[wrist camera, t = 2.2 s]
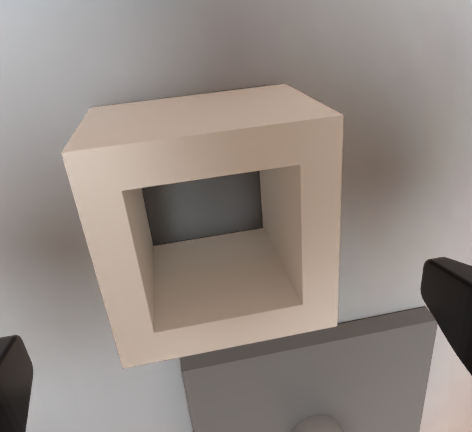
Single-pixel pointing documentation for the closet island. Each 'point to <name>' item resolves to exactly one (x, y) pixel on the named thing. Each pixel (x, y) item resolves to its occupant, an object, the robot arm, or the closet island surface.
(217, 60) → the closet island surface
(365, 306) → the closet island surface
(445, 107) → the closet island surface
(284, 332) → the collar
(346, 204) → the closet island surface
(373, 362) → the post stand
